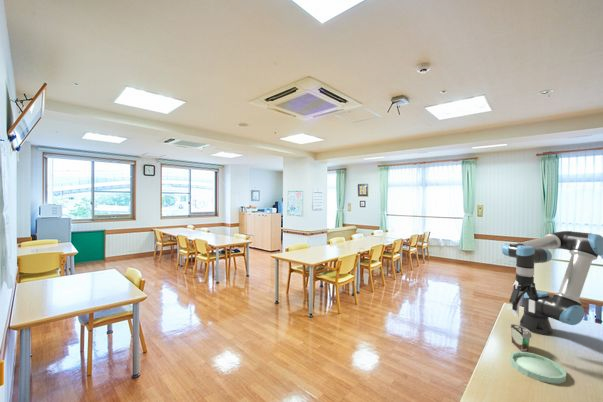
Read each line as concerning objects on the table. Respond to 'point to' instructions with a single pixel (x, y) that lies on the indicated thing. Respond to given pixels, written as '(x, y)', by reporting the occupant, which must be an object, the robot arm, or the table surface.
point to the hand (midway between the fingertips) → (523, 314)
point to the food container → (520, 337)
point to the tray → (538, 367)
